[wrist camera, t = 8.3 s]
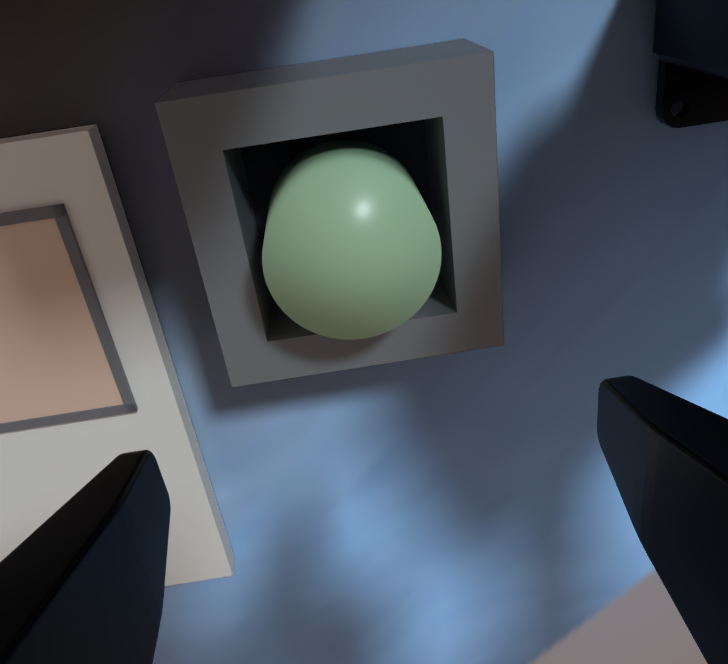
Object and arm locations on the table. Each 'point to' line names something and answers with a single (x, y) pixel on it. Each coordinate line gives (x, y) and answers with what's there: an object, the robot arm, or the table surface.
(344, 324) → the button
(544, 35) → the table surface
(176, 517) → the picture board
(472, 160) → the button housing
